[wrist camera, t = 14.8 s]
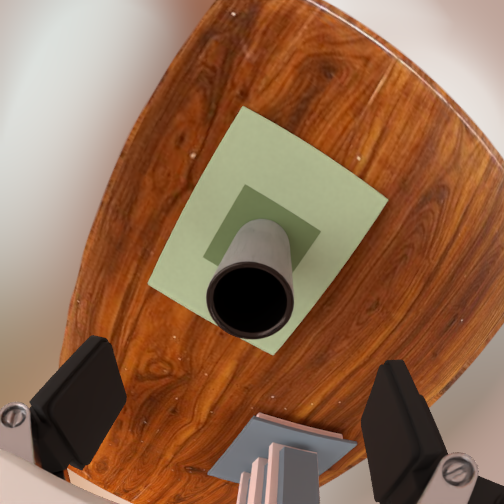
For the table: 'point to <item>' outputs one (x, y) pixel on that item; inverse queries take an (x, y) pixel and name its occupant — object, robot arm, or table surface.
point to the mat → (267, 216)
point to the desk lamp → (279, 461)
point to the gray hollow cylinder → (253, 283)
